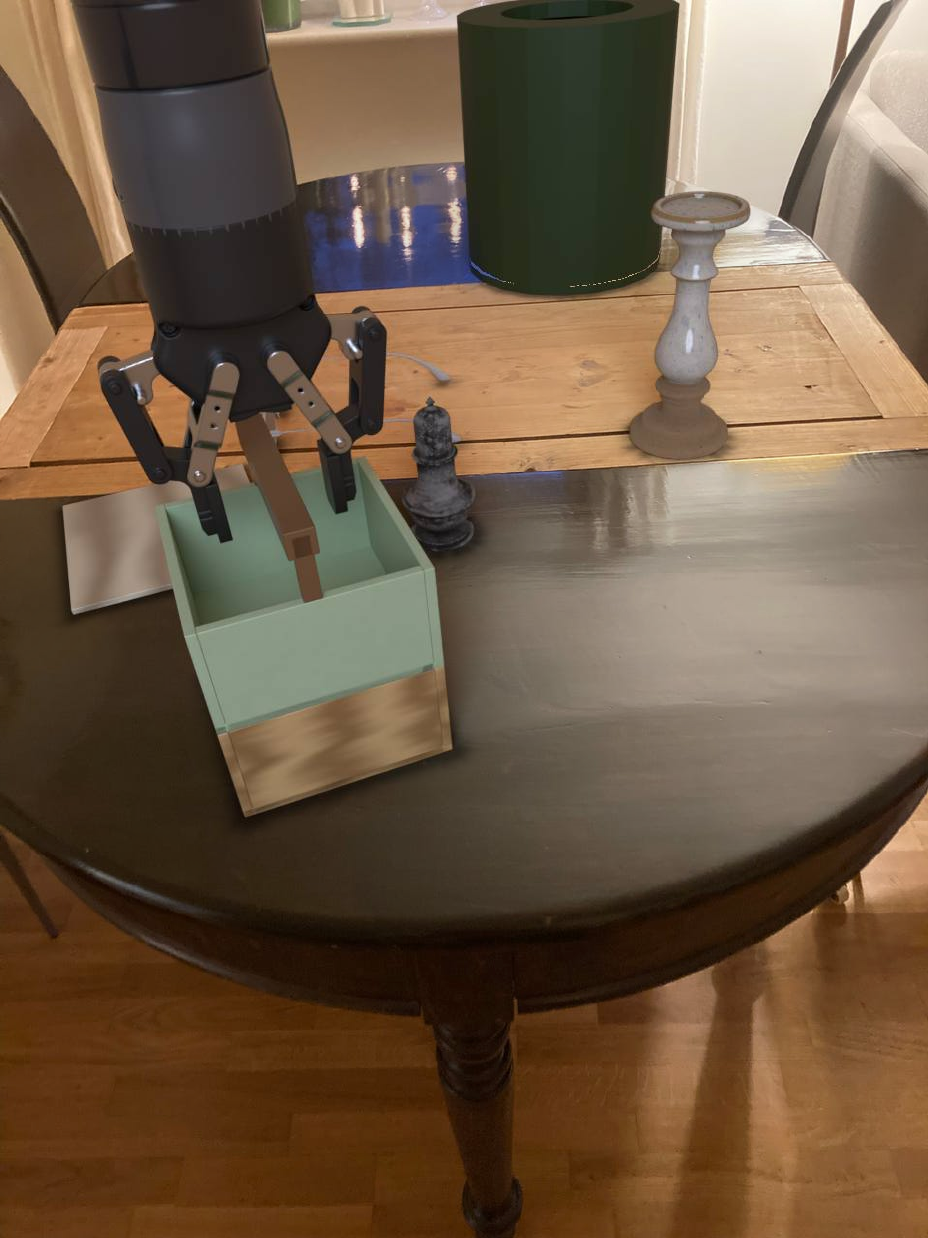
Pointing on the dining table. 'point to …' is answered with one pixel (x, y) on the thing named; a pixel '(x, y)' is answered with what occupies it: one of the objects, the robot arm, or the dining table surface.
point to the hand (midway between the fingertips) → (282, 519)
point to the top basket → (298, 590)
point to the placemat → (123, 542)
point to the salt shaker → (437, 485)
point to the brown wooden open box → (338, 741)
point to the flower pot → (566, 139)
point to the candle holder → (688, 329)
